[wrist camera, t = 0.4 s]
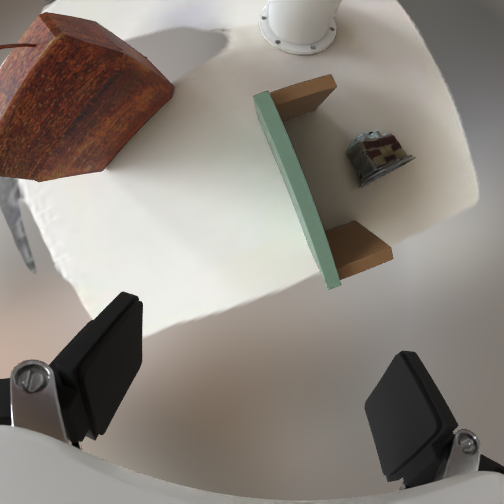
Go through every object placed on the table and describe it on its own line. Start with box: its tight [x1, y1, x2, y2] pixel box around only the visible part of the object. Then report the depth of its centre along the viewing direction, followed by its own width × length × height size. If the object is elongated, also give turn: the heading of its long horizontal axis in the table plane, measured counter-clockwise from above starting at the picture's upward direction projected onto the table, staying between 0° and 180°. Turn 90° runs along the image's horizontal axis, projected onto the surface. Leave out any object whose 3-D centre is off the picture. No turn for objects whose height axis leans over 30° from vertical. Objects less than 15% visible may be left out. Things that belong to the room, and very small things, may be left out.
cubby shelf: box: [253, 74, 393, 290], centre depth 34 cm, size 22×9×16 cm, turn 22°
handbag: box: [0, 12, 175, 182], centre depth 22 cm, size 10×19×35 cm, turn 129°
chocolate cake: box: [346, 131, 416, 188], centre depth 38 cm, size 10×7×12 cm
